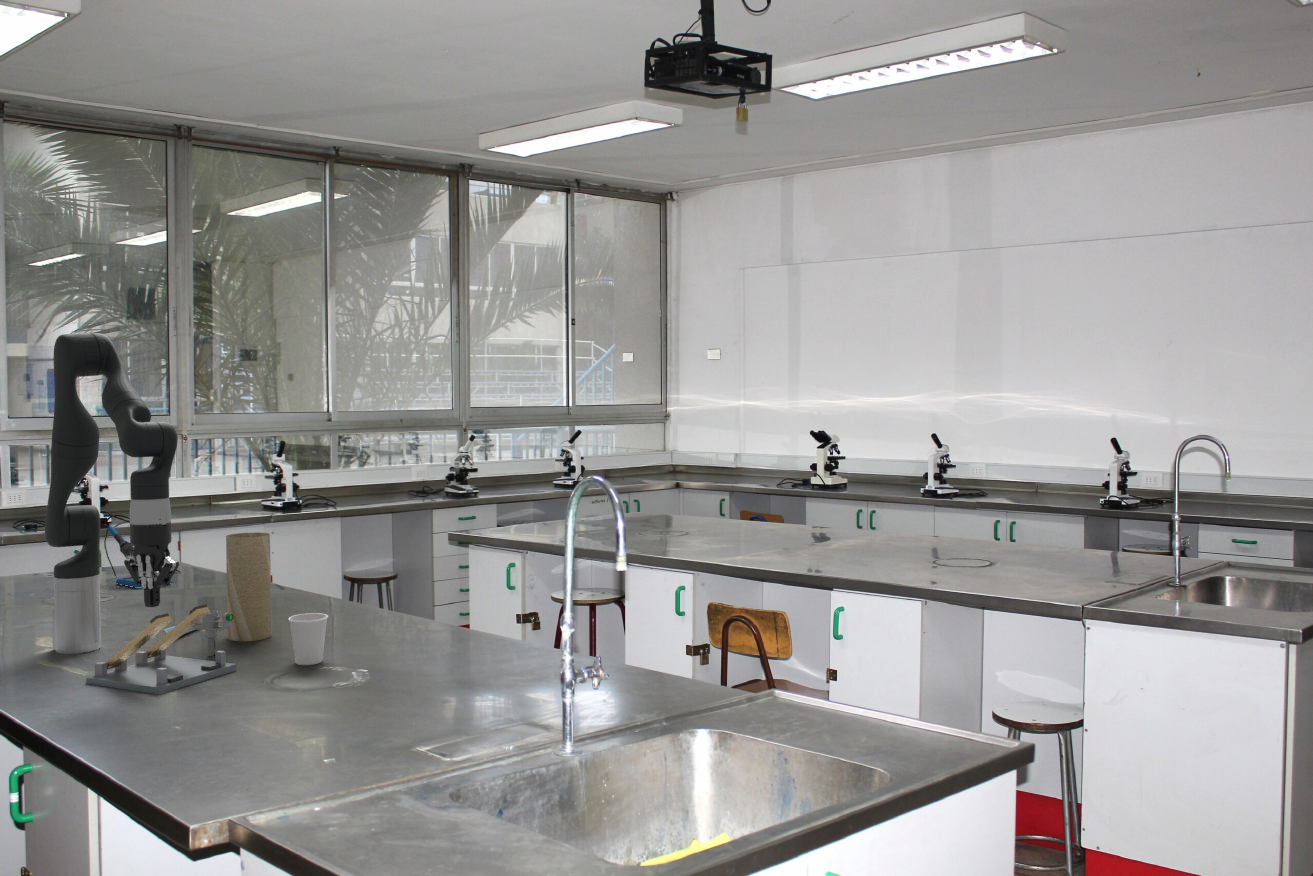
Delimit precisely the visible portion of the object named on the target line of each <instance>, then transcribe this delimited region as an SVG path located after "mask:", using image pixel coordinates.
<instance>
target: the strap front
mask: <svg viewBox="0 0 1313 876" xmlns="http://www.w3.org/2000/svg"><path fill="white" fill-rule="evenodd" d="M172 621H173V620H172V618H171V616H170V614H169V613H163V614H159V615H155V616H154V617H153V618H152V619H151V620H149V622H150V624H149V625H147V626H146V627H145V628H144V629H143V630H142V631H141V632H140V633H138V634H137V635H136V636H135V637H134V638H133V639H131V640H130V641H129V642H128V643H126V644H125V645H124V646H123V647H122V648H121V649H120V650H118V651H117V652H116V653H114V654H113V656H112V657H110V658H108V660H106V661H105V663H107V671H108V670H111V669H115V667H118V666H119V665H120V664H121V663H122V662H124V661H125V660H126V659H128V658H130V657H131V656H132V655H134V653H136V652H138V650H139V649H140V648H142V647H143V646H144V645H145V644H146V643H147V642H149V641H150V640H151V639H152V638H153V637H154V636H156V635H158V634H159V632H160V631H162V630H164V629H165V627H167V626H168V625H169V624H170V623H172Z"/></svg>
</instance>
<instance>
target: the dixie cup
mask: <svg viewBox="0 0 1313 876" xmlns="http://www.w3.org/2000/svg"><path fill="white" fill-rule="evenodd" d="M328 618H329V615H328V614H326V613H320V612H319V613H318V612H309V613H299V614H294V615H291V616H290V617H288V618H287V619H288V621H289V622H288V623H289V627H290V629H289V630H290V633H291V634H290V635H291V640H292V641H291V642H292V649H293V655H294V662H295V664H296V665H298V666H310V665H311V666H312V665H316V664H320V663H323V659H324V658H323V657H324V649H325V641H326V640H325V639H326V633H327V632H326V631H327V624H328V623H327V621H328Z"/></svg>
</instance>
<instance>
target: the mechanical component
mask: <svg viewBox="0 0 1313 876" xmlns="http://www.w3.org/2000/svg"><path fill="white" fill-rule="evenodd" d="M189 615H190V612H189V614H188V616H189ZM232 620H233V614H231V613H227V612H224V613H223V614H222V618H221V615H219V611H218V610H210V612H209V613H208V614H207V615H205V616H204V617H203V618H202V619H201V620H199V621H198V622H197V623H196V624H195V625H193V626H192V628H193V629H195V630H197V631H198V630H199V631H200V630H201V631H202V630H203V631H205V635H204V637H206V638H207V656H208V657H213V656H215V652H216V637H218V635H219V634H218V631H220V632H221V631H224V630H226V629H227V630H228V628H229V627H231V625H232ZM219 623H220V624H223V625H222V626H221V625H219Z"/></svg>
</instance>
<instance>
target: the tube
mask: <svg viewBox="0 0 1313 876" xmlns="http://www.w3.org/2000/svg"><path fill="white" fill-rule="evenodd" d="M225 545H226V546H225V553H226V554H225V557H226V560H225V561H226V605H227V606H226V609H227V610H226V611H227V612H226V613H231V614H233V620H232V625H231V627H229V628H227V639H228V640H229V641H233V642H253V641H255V642H256V641H261V640H267V639H268V638H271V637H272V636H273V635H272V628H273V627H272V578H271V576H272V575H271V574H272V573H271V569H272V568H271V533H270V532H268V533H267V532H241V533H232V534H227V535H226V536H225Z"/></svg>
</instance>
